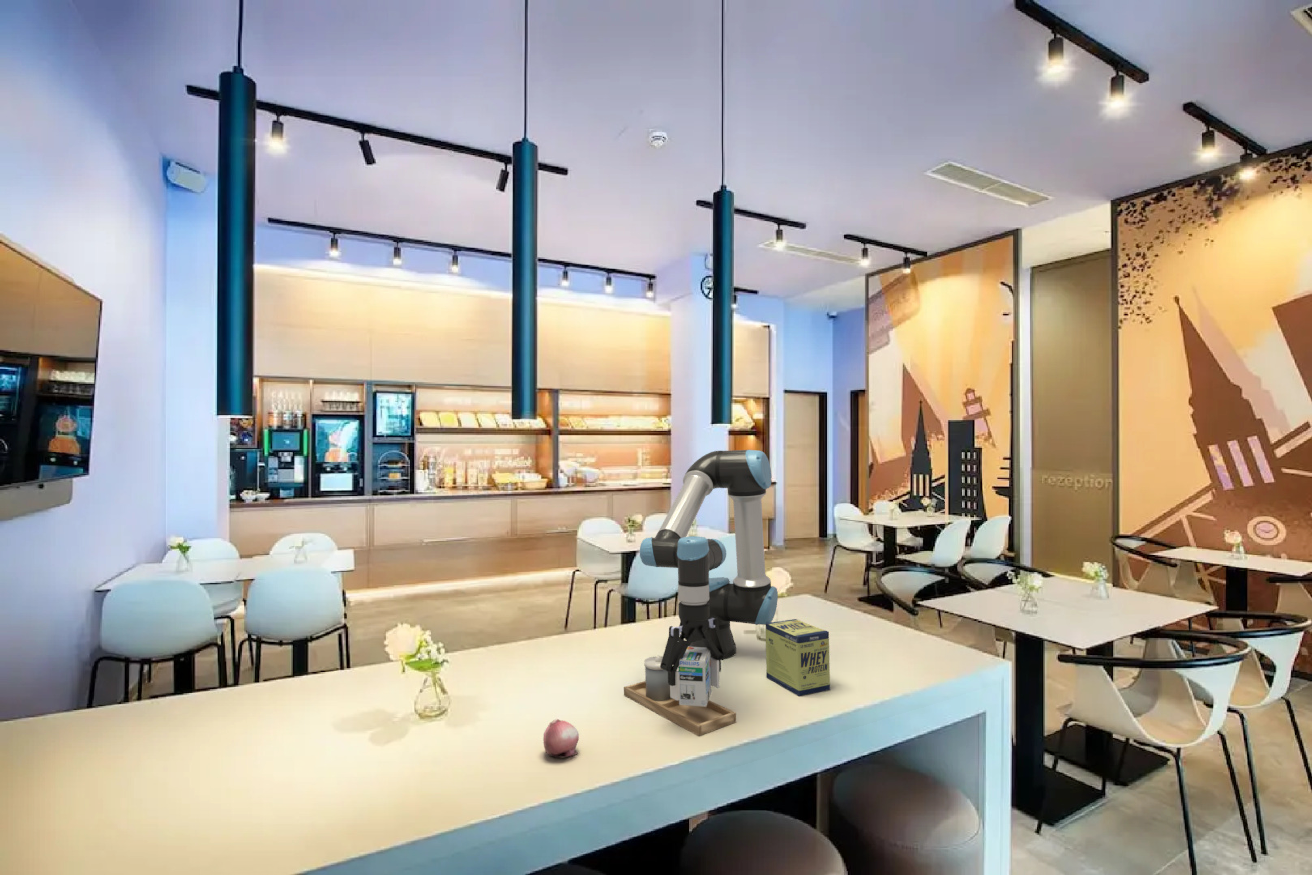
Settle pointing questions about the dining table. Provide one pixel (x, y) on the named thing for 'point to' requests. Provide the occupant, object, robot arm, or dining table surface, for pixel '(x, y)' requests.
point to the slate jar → (656, 680)
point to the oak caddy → (684, 711)
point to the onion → (560, 739)
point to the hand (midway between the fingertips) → (695, 692)
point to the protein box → (797, 656)
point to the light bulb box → (695, 677)
